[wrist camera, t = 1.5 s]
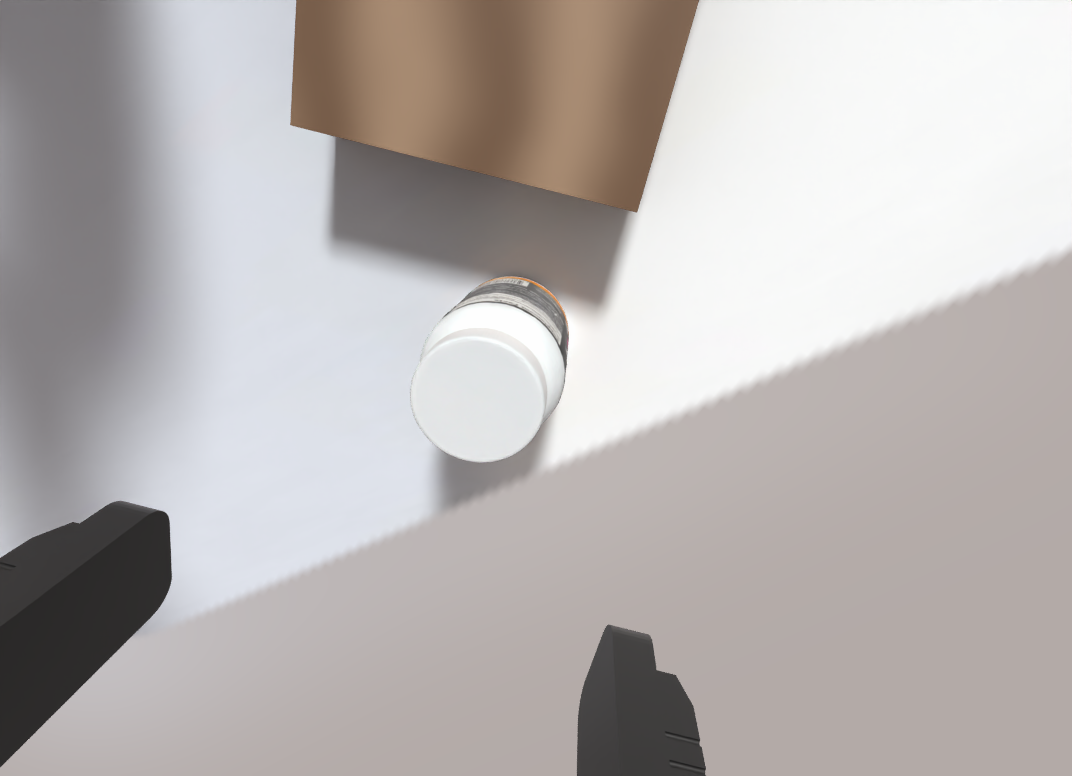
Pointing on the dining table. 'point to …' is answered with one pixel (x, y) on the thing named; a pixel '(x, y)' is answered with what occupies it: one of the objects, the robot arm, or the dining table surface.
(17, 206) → the dining table surface
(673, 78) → the walnut base
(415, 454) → the dining table surface
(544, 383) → the pill bottle
